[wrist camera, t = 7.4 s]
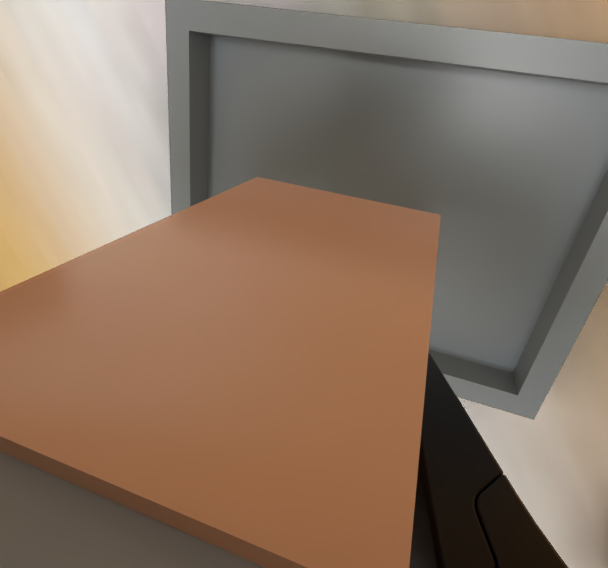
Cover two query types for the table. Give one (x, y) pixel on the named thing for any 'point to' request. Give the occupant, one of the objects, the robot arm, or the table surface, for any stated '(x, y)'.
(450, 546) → the robot arm
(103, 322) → the tall box
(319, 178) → the tray
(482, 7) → the table surface
